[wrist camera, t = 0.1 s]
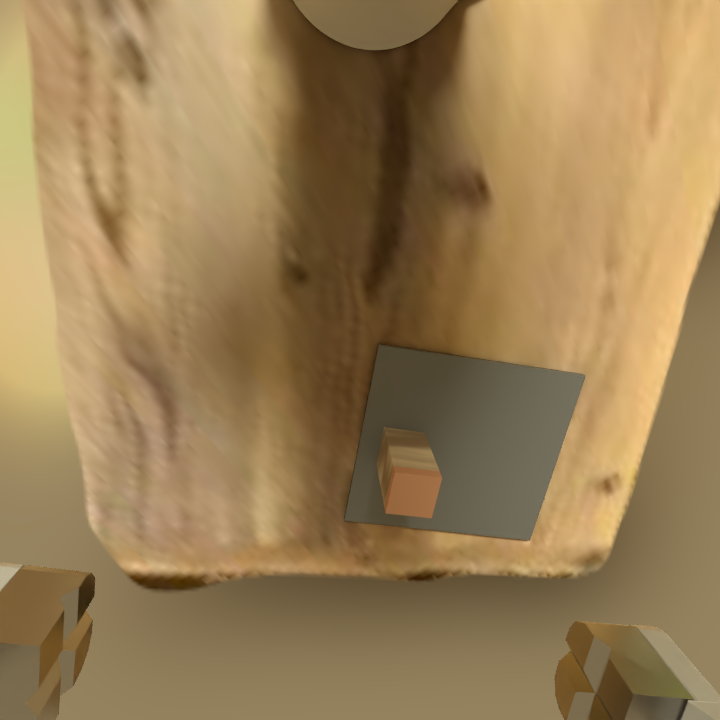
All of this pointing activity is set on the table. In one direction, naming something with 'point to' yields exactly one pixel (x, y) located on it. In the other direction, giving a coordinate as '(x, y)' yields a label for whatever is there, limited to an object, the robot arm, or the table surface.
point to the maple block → (407, 473)
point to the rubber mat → (467, 438)
